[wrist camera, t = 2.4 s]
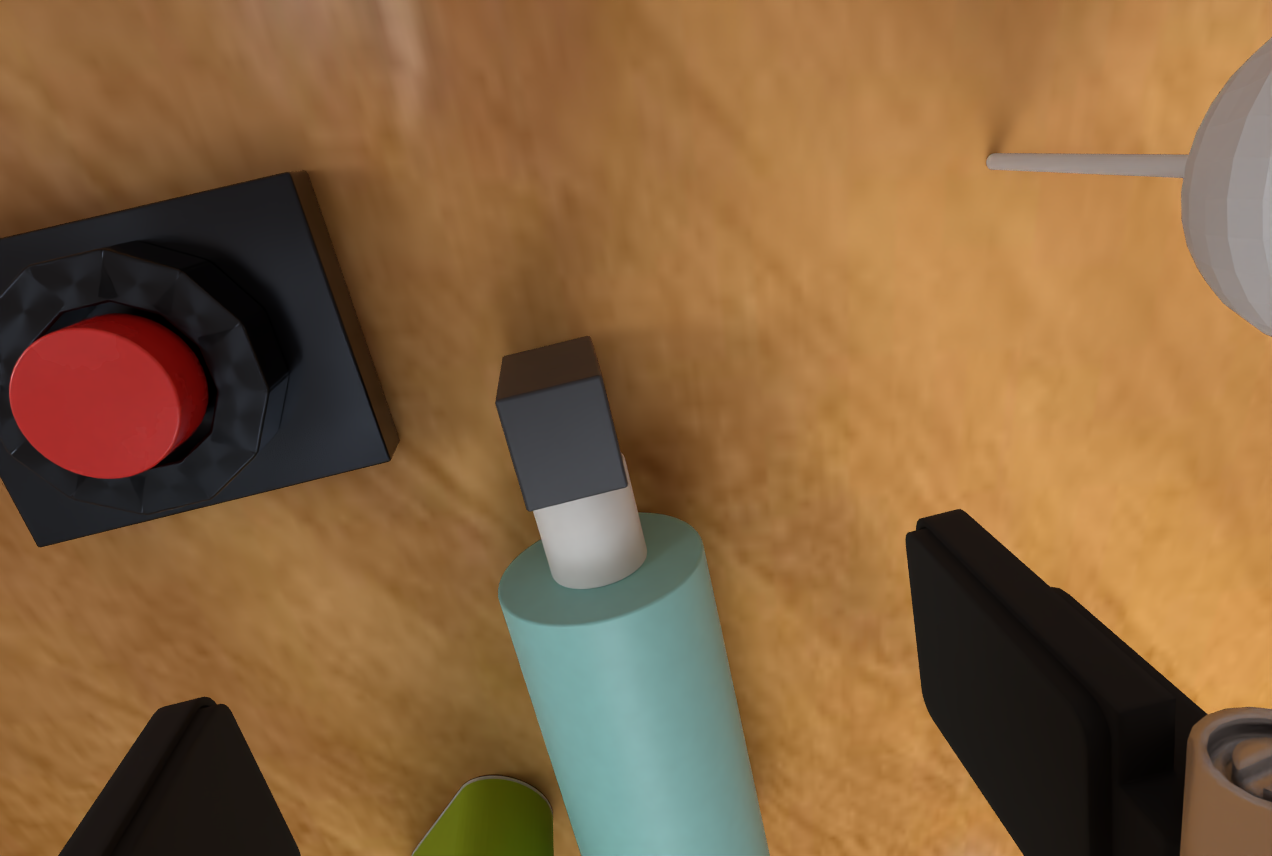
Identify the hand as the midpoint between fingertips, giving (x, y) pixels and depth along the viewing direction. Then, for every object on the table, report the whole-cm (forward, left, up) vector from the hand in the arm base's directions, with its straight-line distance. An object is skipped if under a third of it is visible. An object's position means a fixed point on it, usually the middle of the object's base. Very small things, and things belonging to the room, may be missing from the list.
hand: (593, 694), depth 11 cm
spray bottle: (0, -18, -12) cm, 22 cm away
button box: (-10, +4, -15) cm, 18 cm away
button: (-10, +4, -11) cm, 16 cm away
